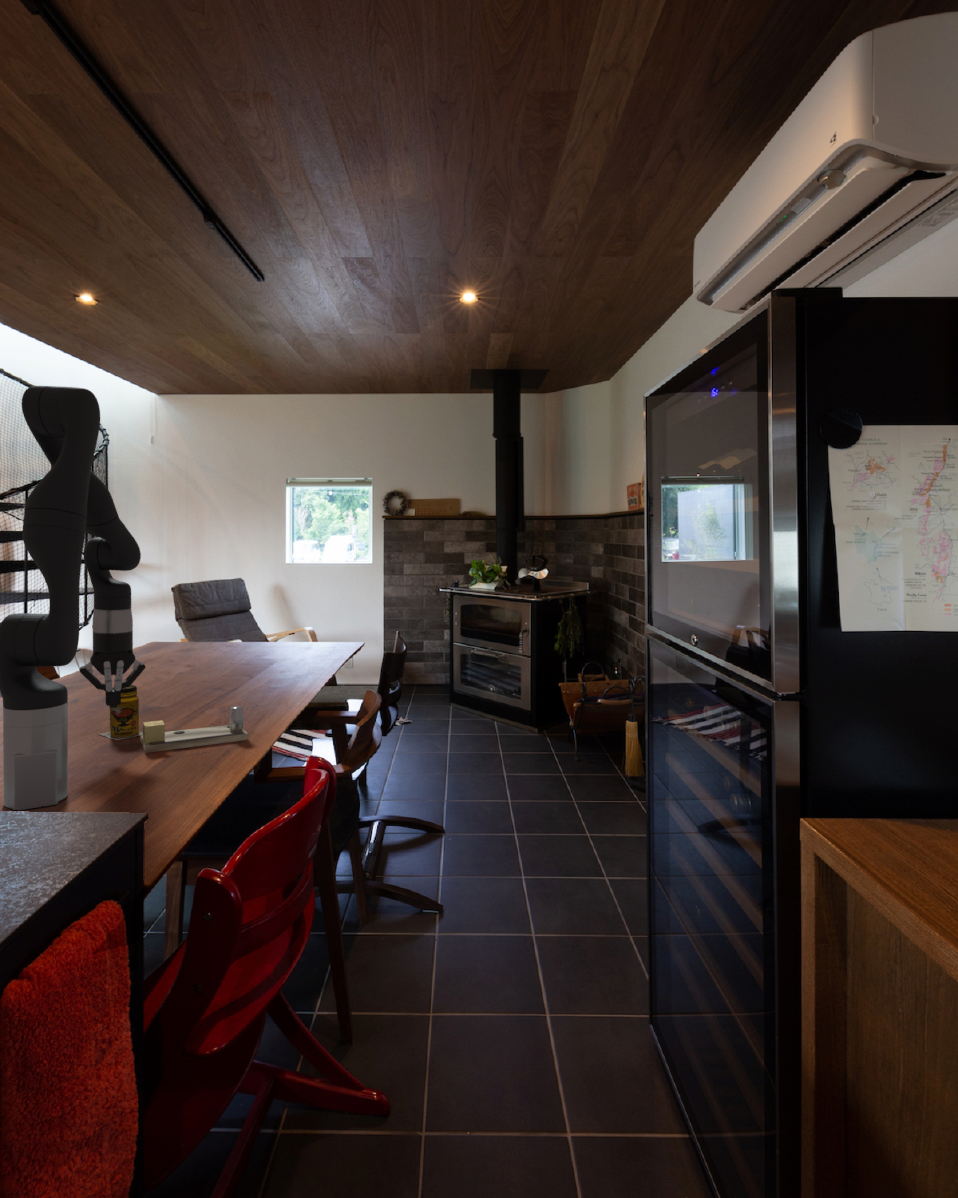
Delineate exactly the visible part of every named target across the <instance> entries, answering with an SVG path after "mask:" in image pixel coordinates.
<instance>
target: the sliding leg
mask: <svg viewBox="0 0 958 1198" xmlns="http://www.w3.org/2000/svg"><path fill="white" fill-rule="evenodd" d="M142 732H143V734H142V735H143V741H144V743H145V744H150V743H158V742H165V732H166V724H165V723H164V720H153V721H152V720H151V721H143V722H142Z"/></svg>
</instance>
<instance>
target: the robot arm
mask: <svg viewBox="0 0 958 1198" xmlns="http://www.w3.org/2000/svg"><path fill="white" fill-rule="evenodd" d="M21 411H22V415H23V418H24V421H25V423H26V424H27V426H28V429H29V430H30V432H31V434H32V436H33V437H34V439H35V440H36V442H37V444H38V446H39V447H40V450H42V452H43V454H44V456H45V458H46V459H47V461H48V462H49V464H50V465H51V468H50V470H49V471H48V472H47V473H46V474H45V475H44V476H43V478H42V479H41V480H40V481H39V482H38V483H37V484H36V486H35V487H34V488H33V489H32V491H31V492H30V493H29V496H28V497H27V498H26V502H25V506H24V511H23V513H24V514H23V522H22V534H21V535H22V536H21V537H22V542H23V544H24V546H25V548H26V551H27V552H28V553H29V555H30V557H31V559H32V561H33V562H34V564H35V565H36V567H37V568H38V571H40V573H41V576H43V579H44V581H45V584H46V587H47V590H48V598H49V600H48V601H49V607H48V608H49V609H48V610H49V611H48V613H32V612H31V613H23V612H21V613H17V612H16V613H11V614H9V615H8V614H7V616H6V617H4V618H3V620H1V622H0V695H1V697H2V714H3V715H2V730H3V731H2V737H3V738H2V742H3V743H2V747H3V750H2V751H3V752H2V753H3V755H2V756H3V760H2V761H3V767H2V768H3V770H2V771H3V805H4V807H6V808H7V809H11V810H12V811H13V810H18V811H23V810H24V811H25V810H29V809H37V808H43V807H48V806H54V805H55V806H56V805H58V803H59V802H60V801H63V800H64V799H66V798H67V796H68V795H69V794H68V793H69V788H68V787H69V786H68V782H69V778H68V777H69V774H68V773H69V771H68V770H69V769H68V767H69V764H68V763H69V762H68V756H69V754H68V752H69V751H68V750H69V747H68V746H69V745H68V743H69V741H68V739H69V738H68V732H69V731H68V729H69V727H68V725H69V724H68V720H69V719H68V716H69V714H68V712H69V711H68V709H69V706H68V705H69V704H68V703H69V701H68V700H69V697H68V696H69V695H68V688H67V687H66V685H64V684H63V683H60V682H57V681H54V680H51V679H49V678H47V677H45V676H44V675H43V674H41V673H40V672H39V671H38V669H37V667H65V666H67V665H69V664H70V663H71V662H72V661H73V660H74V659H75V656H76V653H77V651H78V647H79V640H80V639H79V638H80V588H81V587H80V584H81V569H82V560H84V564H85V566H86V570H87V573H88V576H89V579H90V583H91V586H92V589H93V613H92V614H93V615H92V624H91V627H92V655H91V657H90V658H89V662H88V663H86V664H85V665H82V666H80V667H79V673H80V674H81V675H82V676H83V677H84V678H85V679H86V680H87V681H88V682H89V683H91V685H92V686H94V688H96V689H97V691H98V690H101V691H104V693H105V696H104V697H105V704H106V707H109V709H110V708H113V707H114V708H117V705H120V703H121V690H122V689H123V688H126V687H130V686H131V685H133V684H134V682H135V681H136V680H137V679H138V677H139V676H140V675H141V674H142V673H143V671H145V669H146V665H145V663H143V662H142V661H141V662H140V661H139V660H137V659H136V656H135V654H134V650H133V649H134V643H133V642H134V640H133V638H134V633H133V632H134V630H133V629H134V627H133V626H134V624H133V622H134V620H133V618H134V617H133V612H132V588H131V585H130V584H129V583H128V582H124V581H122V580H117V579H116V578H114V577H113V576H112V573H111V572H110V571H117V572H118V571H121V572H122V571H123V572H126V571H127V572H128V571H133V570H135V569H136V568H137V567H138V566H139V565H140V562H141V557H142V554H141V553H142V552H141V549H140V546H139V544H138V541H137V540H136V539H135V538H134V536H133V535H132V534H131V532H130V531H129V529H128V528H127V527H126V524H124V523H123V520H121V519H120V517H119V513H118V510H117V507H116V505H115V502H114V499H113V497H112V494H111V492H110V491H109V488H107V486H106V484H104V482H103V480H101V478H99V477H98V476H97V475H96V474H95V473H94V472H93V471H92V469H93V468H92V467H93V463H94V457H95V453H96V448H97V443H98V438H99V433H100V427H101V409H100V404H99V401H98V398H97V397H96V395H95V394H94V393H93V392H92V391H91V390H89V389H87V388H83V387H79V386H78V387H77V386H57V385H55V386H54V385H33V386H30V387H28V388H27V389H25V391H24V392H23V394H22V397H21ZM86 534H89V535H90V536H93V537H92V538H90V539H89V540H88V541H87V542H86V544H85V536H86ZM84 544H85V546H84ZM82 558H83V559H82ZM131 666H132V671H131V672H130V674H128V676H127V677H126V678H125V679H124V680H123V675H124V674H125V673H127V672H128V670H129V669H130V668H131ZM93 668H94V669H95V670H97V672H98V673H99V674H100V675H102V676H103V679H104V682H102V681H100V680H99V678H97V676H96V675H94V674H93V673H94V669H93ZM112 676H114V684H113V680H112V679H113V678H112ZM113 687H114V690H112V688H113ZM42 806H43V807H42Z"/></svg>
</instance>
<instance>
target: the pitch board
mask: <svg viewBox="0 0 958 1198" xmlns="http://www.w3.org/2000/svg"><path fill="white" fill-rule="evenodd" d="M248 739H249V734H248V732H247V731H246V729H244V728H243V732H241V733H230V724H225V725H218V726H217V725H215V726H207V727H197V728H190V729H181V730H173V731H170V730H169V731H165V742H158V743H150V744H145V743H144V741H143V734H142V735H140V744H141V745H142V749H143V751H144V754H146V753H147V754H148V753H155V752H162V751H163V752H164V751H170V750H178V749H185V748H186V749H187V748H195V747H200V746H208V745H217V744H225V743H226V744H227V743H233V742H240V741H248Z"/></svg>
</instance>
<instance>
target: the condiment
mask: <svg viewBox="0 0 958 1198" xmlns="http://www.w3.org/2000/svg"><path fill="white" fill-rule="evenodd" d="M112 690H114V686H112ZM137 694H138V688H137V686H136V685H133V684H131V686H130V687H126V688H123V689H122V690H121V703H120V705H117V708H114V707H113V708H109V730H110V731H107V732H103V733H98V735H99V736H103V737H106V738H108V739H111V740H115V741H120V740H126V739H130V738H131V739H132V738H136V737H138V736H141V735H143V731H141V730H140V723H139V722H140V720H139V719H140V717H139V716H140V714H139V713H140V708H139V707H140V703H139V701H140V700H139V696H138V695H137Z"/></svg>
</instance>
